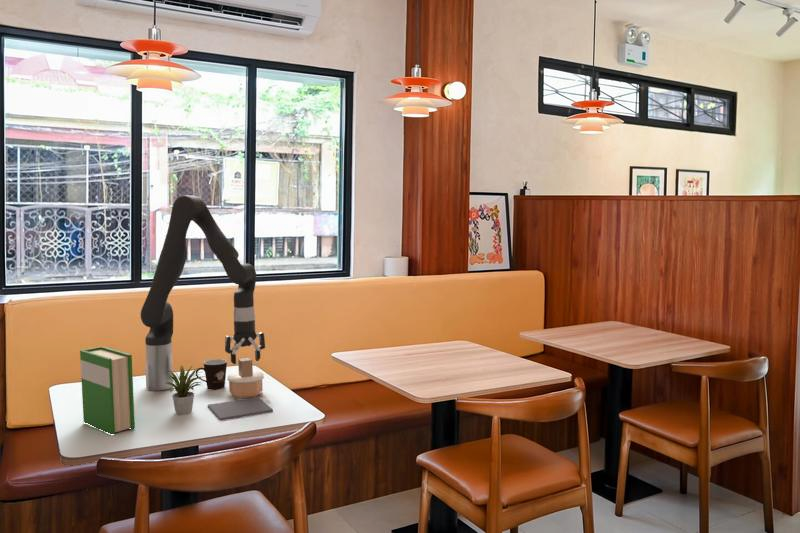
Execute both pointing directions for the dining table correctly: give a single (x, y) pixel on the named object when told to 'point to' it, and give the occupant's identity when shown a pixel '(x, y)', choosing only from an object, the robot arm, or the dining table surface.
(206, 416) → the dining table surface
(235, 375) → the lid
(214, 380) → the coffee mug
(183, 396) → the house plant
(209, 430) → the dining table surface
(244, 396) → the bowl
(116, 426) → the hardback book
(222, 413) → the mat
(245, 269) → the robot arm
